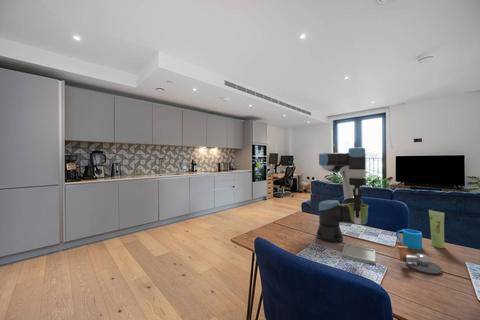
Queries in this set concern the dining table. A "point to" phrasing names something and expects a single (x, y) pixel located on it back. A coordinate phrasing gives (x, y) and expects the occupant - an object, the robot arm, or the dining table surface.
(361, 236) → the dining table surface
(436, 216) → the tube
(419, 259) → the crank
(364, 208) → the plant pot
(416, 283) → the dining table surface
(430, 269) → the crank plate
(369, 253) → the tray
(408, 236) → the mug
